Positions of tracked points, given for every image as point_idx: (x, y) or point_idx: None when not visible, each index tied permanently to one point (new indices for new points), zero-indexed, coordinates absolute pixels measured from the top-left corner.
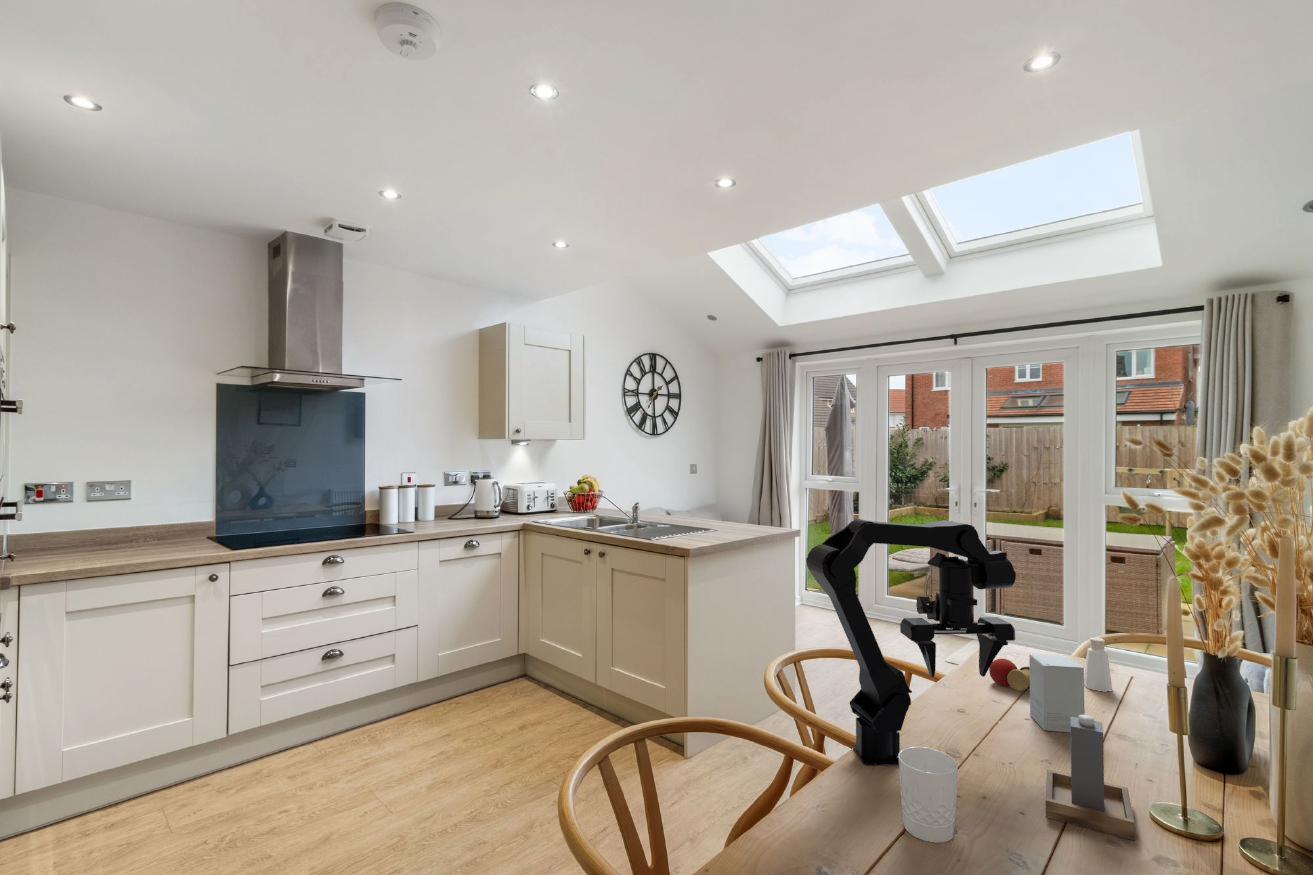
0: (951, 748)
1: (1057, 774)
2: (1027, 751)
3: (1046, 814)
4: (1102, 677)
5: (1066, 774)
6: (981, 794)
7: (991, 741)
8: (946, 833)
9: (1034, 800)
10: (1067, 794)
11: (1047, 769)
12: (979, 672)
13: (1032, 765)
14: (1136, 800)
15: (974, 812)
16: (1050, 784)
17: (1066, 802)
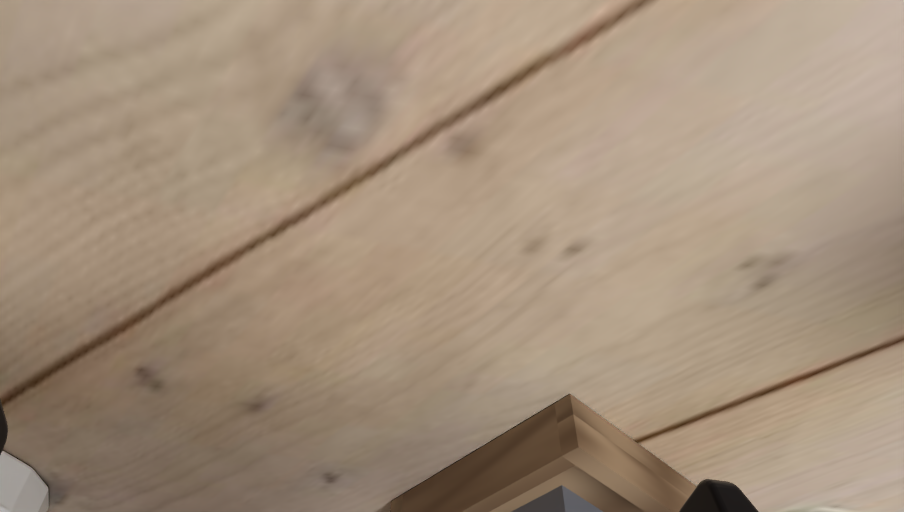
0: (365, 49)
1: (585, 470)
2: (783, 177)
3: (392, 509)
4: None
5: (613, 482)
6: (256, 394)
7: (702, 25)
8: None
9: (429, 445)
10: (543, 485)
11: (576, 450)
12: (711, 501)
13: (658, 285)
14: (768, 494)
15: (168, 454)
16: (485, 509)
17: (494, 509)
